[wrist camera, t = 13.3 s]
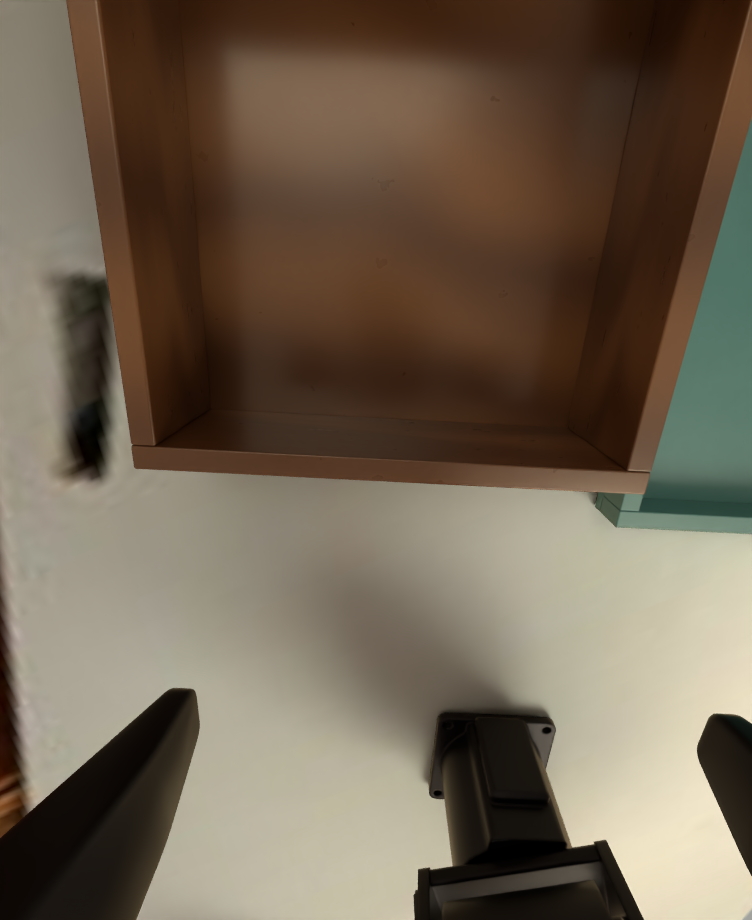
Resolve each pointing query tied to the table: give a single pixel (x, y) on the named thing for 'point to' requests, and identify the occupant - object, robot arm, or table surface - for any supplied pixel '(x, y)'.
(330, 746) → the table surface
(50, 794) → the robot arm
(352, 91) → the wooden box
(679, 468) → the tray
